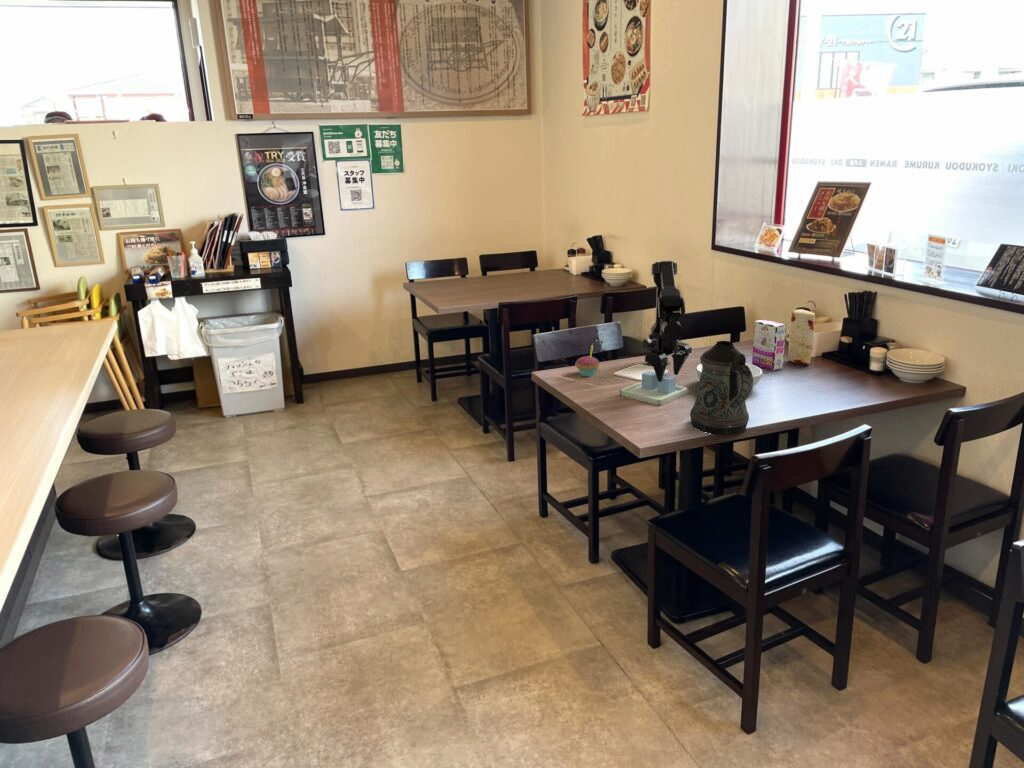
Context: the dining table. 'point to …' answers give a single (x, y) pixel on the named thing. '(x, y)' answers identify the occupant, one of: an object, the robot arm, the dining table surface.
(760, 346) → the candy bar box
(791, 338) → the food model
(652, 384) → the block
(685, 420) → the dining table surface
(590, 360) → the cupcake
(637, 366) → the dish
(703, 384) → the beer stein
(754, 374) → the serving bowl
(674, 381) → the block
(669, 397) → the tray
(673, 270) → the robot arm
